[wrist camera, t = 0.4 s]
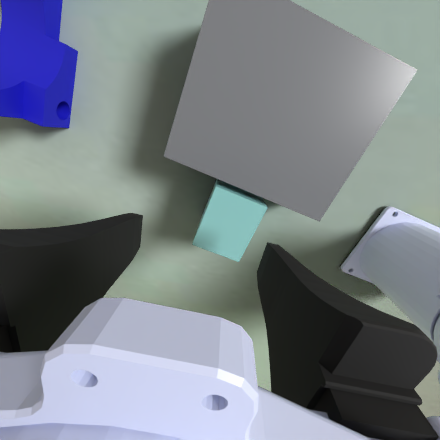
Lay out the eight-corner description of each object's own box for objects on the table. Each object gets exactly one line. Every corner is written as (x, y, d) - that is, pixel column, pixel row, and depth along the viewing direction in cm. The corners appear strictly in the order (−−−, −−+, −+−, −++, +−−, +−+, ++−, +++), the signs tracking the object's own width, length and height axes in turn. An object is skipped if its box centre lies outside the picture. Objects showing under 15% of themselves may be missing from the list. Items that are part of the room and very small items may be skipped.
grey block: (360, 90, 17) (417, 69, 12) (296, 200, 20) (319, 221, 15) (222, 19, 15) (220, -38, 10) (180, 151, 19) (163, 156, 14)
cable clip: (70, 128, 19) (3, 124, 13) (19, 106, 18) (-74, 93, 13) (91, -47, 14) (4, -162, 9) (24, -81, 14) (-112, -226, 8)
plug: (301, 100, 17) (332, 84, 12) (236, 233, 22) (238, 262, 17) (257, 78, 16) (270, 53, 11) (200, 219, 21) (192, 244, 16)
